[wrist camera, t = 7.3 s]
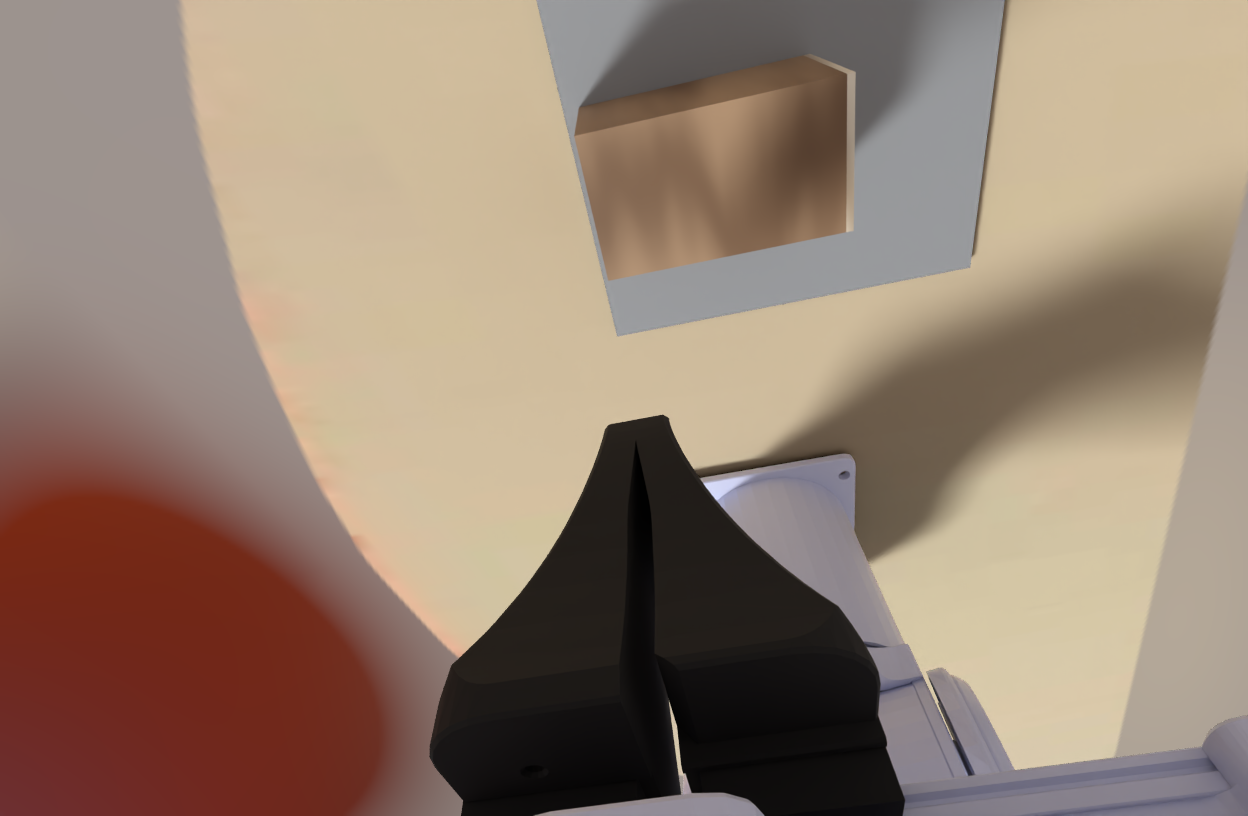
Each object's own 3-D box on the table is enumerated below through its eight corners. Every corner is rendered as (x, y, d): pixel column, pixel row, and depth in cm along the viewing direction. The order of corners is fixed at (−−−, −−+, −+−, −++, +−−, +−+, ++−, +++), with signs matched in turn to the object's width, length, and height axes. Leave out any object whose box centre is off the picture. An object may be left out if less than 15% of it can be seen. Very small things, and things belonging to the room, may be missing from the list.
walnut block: (853, 230, 17) (608, 281, 18) (813, 189, 20) (607, 232, 21) (855, 71, 15) (574, 135, 16) (810, 53, 18) (579, 107, 19)
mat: (964, 263, 23) (969, 267, 22) (617, 331, 24) (617, 336, 23) (1013, -125, 16) (1021, -127, 16) (536, -6, 17) (535, -5, 17)
